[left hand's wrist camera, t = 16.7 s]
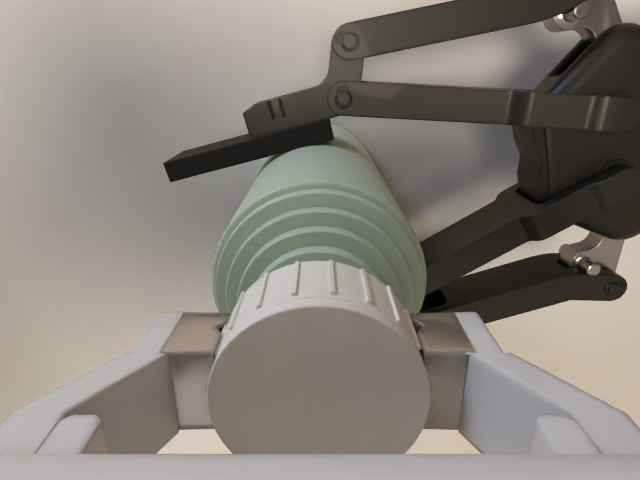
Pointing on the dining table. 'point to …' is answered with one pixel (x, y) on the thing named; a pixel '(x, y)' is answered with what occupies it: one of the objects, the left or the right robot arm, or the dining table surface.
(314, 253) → the bottle
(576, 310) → the dining table surface
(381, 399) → the cap
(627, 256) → the dining table surface
